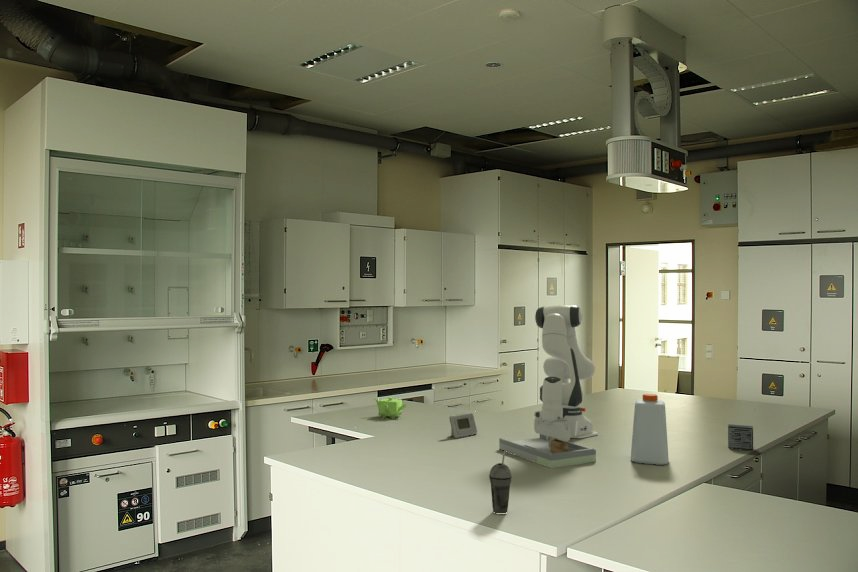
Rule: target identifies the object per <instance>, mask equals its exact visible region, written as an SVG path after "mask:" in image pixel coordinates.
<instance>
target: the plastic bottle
mask: <svg viewBox="0 0 858 572" xmlns="http://www.w3.org/2000/svg"><path fill="white" fill-rule="evenodd" d="M658 399H659V398H658V394H653V393H643V395H642V398H641V399H636V400H635V403H634V412H633V413H634V414H633V425H632V435H631V447H630V448H631V450H630V460H631V462H634V463H637V464H642V463H644V465H653V464H656V465H655V466H665V465H667V464H669V446H668V444H669V443H668V432H667V431H668V430H667V428H668V427H667V416H666V415H667V414H666V412H667V411H666V403H665V401H663V400H658Z"/></svg>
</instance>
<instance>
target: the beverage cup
mask: <svg viewBox="0 0 858 572" xmlns="http://www.w3.org/2000/svg"><path fill="white" fill-rule="evenodd" d="M502 452H503V453H502V460H501V461H502V462H499V463H495V464H494V465H493V466H492V467H491V469H490V471H489V475H488V476H489V477H488V478H489V481H490V489H491V490H490V491H491V504H492V513H493V512H495V513H506V512H507V513H508V508H509V501H510V500H509V499H510V490H511V483H512V478H513V477H512V471H511V469H510V467H509V466H508V465H507V464H505V455H506V452H505V450H504V451H502Z"/></svg>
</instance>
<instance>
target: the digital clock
mask: <svg viewBox="0 0 858 572" xmlns="http://www.w3.org/2000/svg"><path fill="white" fill-rule="evenodd" d="M449 423H450V429H451V431H450V432H451V433H450V436H451V437H453V438H454V439H458V438H459V439H461V438H460V437H462V438H466V437H465V436H467V437H470V436H469V435H472V436H475V435H477V434H478V428H477V425H476V421H475V415H474V413H473V412H464V413H458V414H453V415H450V416H449ZM474 434H475V435H474Z"/></svg>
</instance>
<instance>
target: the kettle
mask: <svg viewBox="0 0 858 572" xmlns="http://www.w3.org/2000/svg"><path fill="white" fill-rule="evenodd" d="M373 400H374V401H375V402H376V406H377V408H378V416H380V417H381V419H386V418H387V417H390V418H391V419H393V420H395V419H396V418H399V416H401V415H402V414H403V410H404V409H405V408H406V407H407V406H408V405H407V404H406V403H403V399H402V398H401V399H398V398H397V396H396V397H392V396H388V398H382V399H380V400H379V399H378V398H373Z"/></svg>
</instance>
